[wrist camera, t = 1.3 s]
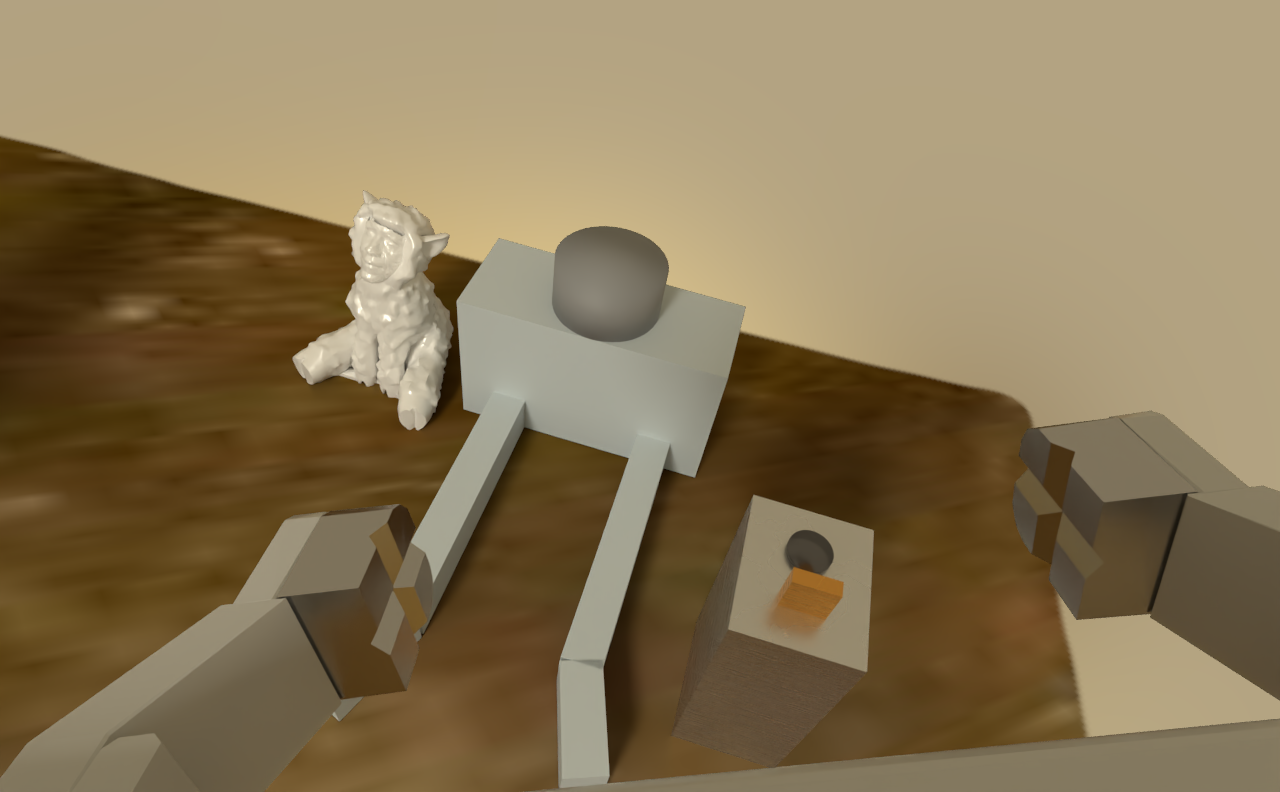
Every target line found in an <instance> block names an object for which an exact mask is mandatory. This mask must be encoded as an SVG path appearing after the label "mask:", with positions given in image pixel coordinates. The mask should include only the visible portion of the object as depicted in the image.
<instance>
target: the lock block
mask: <svg viewBox="0 0 1280 792" xmlns="http://www.w3.org/2000/svg"><path fill="white" fill-rule="evenodd" d="M873 539H874V530H871V529H868V528H864V527H861V526H857V525H854V524H851V523H847V522H844V521H841V520H837V519H834V518H830V517H827V516H824V515H820V514H817V513H813V512H810V511H807V510H803V509H800V508H797V507H793V506H790V505H786V504H783V503H780V502H776V501H773V500H770V499H766V498H763V497H759V496H756V495H753V497H752V499H751V502H750V504H749V506H748V508H747V510H746V513H745V515H744V517H743V519H742V522H741V524H740V526H739V528H738V530H737V533H736V535H735V537H734V539H733V542H732V544H731V546H730V548H729V550H728V553H727V555H726V557H725V559H724V562H723V564H722V566H721V568H720V570H719V573H718V575H717V577H716V579H715V582H714V584H713V586H712V588H711V590H710V593H709V595H708V597H707V599H706V602H705V604H704V606H703V608H702V610H701V613H700V615H699V617H698V619H697V622H696V627H695V631H694V636H693V640H692V645H691V649H690V654H689V658H688V663H687V667H686V672H685V676H684V681H683V685H682V690H681V694H680V699H679V703H678V708H677V712H676V717H675V721H674V726H673V731H672V735H671V736H674V737H677V738H680V739H683V740H686V741H689V742H692V743H695V744H699V745H702V746H705V747H708V748H711V749H714V750H717V751H720V752H723V753H727V754H730V755H733V756H736V757H739V758H742V759H745V760H748V761H751V762H754V763H758V764H761V765H764V766H767V767H770V768H775V767H776V766H777V765H778V764H779V763H780V762H781V761H782V760H783V759H784V758H785V757H786V756H787V754H788V753H789V752H790V751H791V750H792V749H793V748H794V747H795V746H796V745H797V744H798V743H799V742H800V741H801V740H802V739H803V738H804V737H805V736H806V735H807V734H808V733H809V732H810V731H811V730H812V729H813V728H814V727H815V725H816V724H817V723H818V722H819V721H820V720H821V719H822V718H823V717H824V716H825V715H826V714H827V713H828V712H829V711H830V710H831V709H832V708H833V707H834V706H835V705H836V704H837V703H838V702H839V701H840V700H841V699H842V698H843V697H844V695H845V694H846V693H847V692H848V691H849V690H850V689H851V688H852V687H853V686H854V685H855V684H856V683H857V682H858V681H859V680H860V679H861V678H862V677H863V676H864V675H865V674H866V673H867V661H868V640H869V620H870V600H871V579H872V559H873Z"/></svg>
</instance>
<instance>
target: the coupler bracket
mask: <svg viewBox="0 0 1280 792" xmlns="http://www.w3.org/2000/svg"><path fill="white" fill-rule="evenodd" d="M668 269H669V267H668V261H667V258H666V257H665V254H664V253H663V252H662V250H661V249H660V248H659V247H658V246H657V245H656V244H655V243H654V242H652V241H651V240H650V239H648V238H646V237H645V236H643V235H641V234H638V233H636V232H633V231H630V230H627V229H622V228H617V227H607V226H606V227H605V226H599V227H590V228H585V229H582V230H579V231H576V232H574V233H572V234H570V235H568V236H567V237H566V238H564V239H563V240H562V241H561V242H560V244H559V245H558V247H557V249H556V252H555V254H554V253H551V252H547V251H543V250H540V249H536V248H532V247H529V246H525V245H522V244H518V243H514V242H511V241H507V240H504V239H500V238H499V239H498V241H497V242H496V244H495V245H494V246H493V248H492V249H491V251H490V253H489V254H488V255H487V257H486V258H485V260H484V261H483V263H482V264H481V266H480V267H479V269H478V270H477V272H476V273H475V275H474V276H473V278H472V279H471V280H470V282H469V283H468V285H467V286H466V288H465V289H464V291H463V292H462V294H461V295H460V297H459V298H458V300H457V316H458V331H459V346H460V362H461V377H462V392H463V407H464V410H468V411H471V412H475V413H478V414H481V415H480V417H479V419H478V421H477V422H476V424H475V426H474V428H473V430H472V431H471V433H470V435H469V437H468V439H467V441H466V442H465V444H464V446H463V448H462V450H461V451H460V453H459V455H458V457H457V459H456V461H455V462H454V464H453V466H452V468H451V470H450V471H449V473H448V475H447V477H446V479H445V481H444V482H443V484H442V486H441V488H440V490H439V492H438V493H437V495H436V497H435V499H434V501H433V502H432V504H431V506H430V508H429V510H428V512H427V513H426V515H425V517H424V519H423V521H422V522H421V524H420V526H419V528H418V530H417V532H416V533H415V535H414V537H413V539H412V541H411V543H413V544H414V545H415V546H417V547H418V548H420V549H421V550H422V551H424V552H425V553H426V556H427V559H428V561H429V564H430V567H431V573H432V578H433V602H432V607H431V611H430V615H429V618H428V621H427V622H426V623H425V624H424V625H423V626H422V627H421V628H420V629H419V630H418V631H417V632H416V633H415V634H414V636H415V639H416V641H417V642H418V641H419V640H420V639H421V638H422V637H421V633H422V634H424V632H425V630H426V628H427V626H428V624H429V622H430V619H431V617H432V615H433V613H434V611H435V609H436V607H437V605H438V603H439V601H440V599H441V597H442V595H443V593H444V591H445V589H446V587H447V585H448V583H449V581H450V578H451V576H452V574H453V572H454V570H455V568H456V566H457V564H458V562H459V560H460V558H461V556H462V554H463V552H464V550H465V548H466V546H467V544H468V542H469V539H470V537H471V535H472V533H473V531H474V529H475V527H476V525H477V523H478V521H479V519H480V517H481V515H482V513H483V511H484V509H485V507H486V505H487V503H488V501H489V498H490V496H491V494H492V492H493V490H494V488H495V486H496V484H497V482H498V480H499V478H500V476H501V474H502V472H503V470H504V468H505V466H506V464H507V462H508V459H509V457H510V455H511V453H512V451H513V449H514V447H515V445H516V443H517V441H518V439H519V437H520V435H521V433H522V431H523V429H524V427H525V428H529V429H532V430H535V431H539V432H542V433H546V434H549V435H552V436H556V437H559V438H563V439H566V440H569V441H573V442H576V443H579V444H583V445H586V446H590V447H593V448H596V449H600V450H603V451H606V452H610V453H613V454H617V455H620V456H623V457H627V458H629V460H628V463H627V466H626V469H625V472H624V475H623V478H622V481H621V483H620V486H619V489H618V492H617V495H616V498H615V501H614V504H613V507H612V510H611V512H610V515H609V518H608V521H607V524H606V527H605V530H604V533H603V536H602V539H601V541H600V544H599V547H598V550H597V553H596V556H595V559H594V562H593V565H592V568H591V571H590V573H589V576H588V579H587V582H586V585H585V588H584V591H583V594H582V597H581V600H580V602H579V605H578V608H577V611H576V614H575V617H574V620H573V623H572V626H571V629H570V631H569V634H568V637H567V640H566V643H565V646H564V649H563V652H562V655H561V659H560V661H559V668H558V675H557V722H558V778H559V788H568V787H578V786H589V785H599V784H607V781H608V779H609V776H610V774H609V757H608V740H607V724H606V707H605V690H604V673H603V668H604V664H605V661H606V658H607V654H608V651H609V648H610V644H611V641H612V638H613V634H614V631H615V628H616V624H617V621H618V618H619V614H620V611H621V608H622V604H623V601H624V598H625V594H626V591H627V588H628V584H629V581H630V578H631V574H632V571H633V568H634V565H635V561H636V558H637V555H638V551H639V548H640V545H641V541H642V538H643V535H644V531H645V528H646V525H647V521H648V518H649V515H650V511H651V508H652V505H653V501H654V498H655V495H656V491H657V488H658V485H659V481H660V478H661V475H662V471H663V468H664V469H667V470H671V471H674V472H677V473H681V474H684V475H688V476H691V477H694V478H695V476H696V473H697V470H698V467H699V464H700V461H701V458H702V455H703V452H704V449H705V446H706V443H707V440H708V437H709V434H710V431H711V428H712V425H713V422H714V419H715V416H716V413H717V410H718V407H719V404H720V401H721V398H722V395H723V392H724V389H725V386H726V383H727V379H728V376H729V372H730V368H731V364H732V360H733V356H734V352H735V348H736V344H737V340H738V336H739V332H740V328H741V324H742V320H743V316H744V312H745V308H746V307H745V306H741V305H738V304H734V303H731V302H727V301H723V300H720V299H716V298H713V297H709V296H705V295H702V294H698V293H695V292H691V291H687V290H684V289H680V288H676V287H673V286H669V285H666V281H667V276H668V271H669V270H668ZM362 698H363V697H357V698H350V699H342V700H341V701H342V704H341V705H340V706H339V707H338V708H337V710H336V711H335V712H334V713H333V714H332V715H333V716H334V717H335V718H336V719H337V720H338V721H339V722H340V721H341V720H342V719H343V718H344V717H345V716H346V715H347V714H348V713H349V711H350V710H351V709H352V708H353V707H354V706H355V705H356V704H357V703H358V702H359V701H360V700H361V699H362Z"/></svg>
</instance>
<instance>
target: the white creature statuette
mask: <svg viewBox="0 0 1280 792" xmlns="http://www.w3.org/2000/svg"><path fill="white" fill-rule="evenodd" d="M363 197H364V202H365V203H364V204H363V205H362V207H361V208H360V210H359V211H358V213H357V215H356V216H355V217H354V223H355V225H354V226H353V227H352V228H351V229H350V231H349V236H350V237H351V239H352V248H353V252H352V255H353V256H354V258H355V261H356V263H357V264H358V265H359V266H360V267H361V270H359V271H357V272H356V275H355V278H356V282H355V283H354V284H353V285H352V289H351V291H350V292H349V294H348V297H347V299H346V301H345V302H346V304H347V305H348V307H349V308H350V310H351V312H352V314H353V316H354V317H355V318H356V319H355V320H354V321H352V322H351V323H350V324H348V325H347V326H346V327H342V328H340V329H338V330H337V331H334V332H331V333H328V334H323V335H321V336H320V337H318V339H317V340H316V341H314V342H311V343H309V345H308V347H307V348H305V349H303V350H301V351H300V352H299V353H297V354H296V355H295V356H293V361H294V364H295V366H296V368H297V370H298V371H299V373H300V374H301V376H302V377H303V378H306V380H307V382H308V383H310V384H315V383H317V382H319V383H320V382H322V381H324V380H326V379H328V378H330V377H333V376H337V375H339V376H342V377H346V378H349V379H352V380H356V381H358V382H359V383H362V381H363V382H364V383H365V384H366V386H373V385H374V384H375V383H378V384H380V389H381V391H382V392H383V394H384V393H385V392H387V395H388V397H396V398H398V399H399V403H398V415H399V420H400V422H401V424H402V425H403V426H405V427H406V428H407V429H410V430H411V429H413V428H414V427H416V430H420V429H421V428H423V427H424V426H425V425H426V424H427V423H428V421H429V420H430V419H431V417H432V414H433V413H435V412H436V407H437V402H438V400H439V398H440V396H441V395H440V389H442V386H441V384H442V382H443V374H444V373H445V371H444V368H445V366H446V358H447V357H448V349H450V348H451V346H452V345H451V343H450V339H451V337H452V332H453V329H454V328H453V326H452V324H451V321H450V311H449V310H447V309H446V308H445V307H444V306H443V305H442V303H441V301H440V299H439V298H438V297H436V295H435V294H434V291H433V290H434V284H433V283H432V282H430V281H429V280H428V279H427V277H426V276H425V275H424V273H423V272H422V271H426V270H427V267H428V264H429V262H430V260H431V258H432V257H434V256H436V255H437V254H439V253H440V252H441V251H442V250H443V249H444V248H445V247H446V246H447V243H448V239H449V234H447V233H440V234H436V235H435V233H434V230H433V228H432V226H431V224H430V221H429V219H428V218H427V217H426V216H424V215H423V214H421V213H420V212H419V211H418V210H417V209H416V208H414V207H413V206H408V207H406V206H404V205H402V204H401V203H400V202H399V201H397V200H396V201H394V202H392V201H391V200H389V199H386V198H380V199H379V200H378V199H376V198H375V197H374V196H373V195H372V194H370V193H368V192H367V191H364V190H363ZM352 367H353V368H352Z"/></svg>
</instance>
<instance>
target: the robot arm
mask: <svg viewBox="0 0 1280 792" xmlns="http://www.w3.org/2000/svg"><path fill="white" fill-rule="evenodd" d="M1019 456H1020V458H1021V459H1022V460H1023V461H1024V463H1025V464H1026V465H1027V467H1028V470H1027V471H1026V472H1025V473H1024V474H1023V475H1022V476H1021V477H1020V478H1019V479H1018V480H1017V481H1016V482H1015V486H1014V495H1013V510H1014V516H1015V522H1016V526H1017V528H1018V531H1019V533H1020V536H1021V538H1022V540H1023V542H1024V543H1025V545H1026V546H1027V548H1028V549H1029V551H1030V552H1031V554H1033V555H1035V556H1036V557H1038V558H1040V559H1042V560H1044V561H1046V562H1048V563H1050V564H1051V570H1050V575H1049V581H1050V582H1051V583H1052V585H1053V586H1054V588H1055V589H1056V591H1057V592H1058V594H1059V595H1060V597H1061V598H1062V599H1063V601H1064V602H1065V604H1066V605H1067V607H1068V608H1069V610H1070V611H1071V612H1072V614H1073V615H1074V617H1075V618H1076V620H1081V619H1093V618H1106V617H1117V616H1131V615H1142V614H1151V616H1150V617H1151V618H1152V619H1154V620H1155V621H1157V622H1158V623H1160V624H1162V625H1163V626H1165V627H1166V628H1168V629H1169V630H1171V631H1172V632H1174V633H1175V634H1177V635H1179V636H1180V637H1182V638H1183V639H1185V640H1187V641H1188V642H1189V643H1191V644H1193V645H1194V646H1196V647H1197V648H1199V649H1200V650H1202V651H1203V652H1205V653H1207V654H1208V655H1210V656H1211V657H1213V658H1214V659H1216V660H1218V661H1219V662H1221V663H1222V664H1224V665H1225V666H1227V667H1228V668H1230V669H1231V670H1233V671H1235V672H1236V673H1238V674H1239V675H1241V676H1242V677H1244V678H1245V679H1247V680H1249V681H1250V682H1252V683H1253V684H1255V685H1257V686H1258V687H1260V688H1261V689H1263V690H1264V691H1266V692H1267V693H1269V694H1271V695H1272V696H1274V697H1275V698H1277V699H1278V700H1280V492H1279V491H1277V490H1274V489H1271V488H1268V487H1265V486H1256V487H1248V486H1247V485H1246V484H1245V483H1243V482H1242V481H1241V480H1240V479H1239V478H1237V477H1236V476H1235V475H1234V474H1233V473H1232V472H1230V471H1229V470H1228V469H1227V468H1226V467H1225V466H1223V465H1222V464H1221V463H1220V462H1219V461H1217V460H1216V459H1215V458H1214V457H1213V456H1212V455H1210V454H1209V453H1208V452H1207V451H1206V450H1204V449H1203V448H1202V447H1201V446H1200V445H1198V444H1197V443H1196V442H1195V441H1194V440H1192V439H1191V438H1190V437H1189V436H1188V435H1186V434H1185V433H1184V432H1183V431H1182V430H1181V429H1179V428H1178V427H1177V426H1176V425H1175V424H1173V423H1172V422H1171V421H1170V420H1169V419H1168V418H1166V417H1165V416H1164V415H1162V414H1160V413H1156V412H1153V411H1147V412H1140V413H1133V414H1126V415H1120V416H1113V417H1109V418H1108V419H1100V420H1092V421H1084V422H1077V423H1070V424H1061V425H1053V426H1045V427H1037V428H1029V429H1027V430H1026V432H1025V434H1024V436H1023V438H1022V440H1021V446H1020V452H1019ZM415 528H416V527H415V525H414V523H413V520H412V518H411V516H410V513H409V511H408V509H407V508H405V507H403V506H402V505H400V504H398V505H388V506H377V507H367V508H357V509H347V510H337V511H330V512H320V513H311V514H303V515H294V516H292V517H290V518H288V519H286V520H285V521H284V522H283V524H282V525H281V527H280V529H279V530H278V532H277V534H276V535H275V537H274V538H273V540H272V542H271V543H270V545H269V546H268V548H267V550H266V551H265V553H264V555H263V556H262V558H261V559H260V561H259V563H258V564H257V566H256V568H255V569H254V571H253V572H252V574H251V576H250V577H249V579H248V580H247V582H246V584H245V585H244V587H243V589H242V590H241V592H240V593H239V595H238V597H237V598H236V600H235V601H234V603H233V604H229V605H221V606H220V607H218V608H217V609H215V610H214V611H213V612H211V613H210V614H208V615H207V616H206V617H204V618H203V619H201V620H200V621H199V622H197V623H196V624H194V625H193V626H192V627H190V628H189V629H187V630H186V631H185V632H183V633H182V634H180V635H179V636H178V637H176V638H175V639H173V640H172V641H170V642H169V643H168V644H166V645H165V646H163V647H162V648H161V649H159V650H158V651H156V652H155V653H154V654H152V655H151V656H149V657H148V658H147V659H145V660H144V661H142V662H141V663H140V664H138V665H137V666H135V667H134V668H133V669H131V670H130V671H128V672H127V673H125V674H124V675H123V676H121V677H120V678H118V679H117V680H116V681H114V682H113V683H111V684H110V685H109V686H107V687H106V688H104V689H103V690H102V691H100V692H99V693H97V694H96V695H95V696H93V697H92V698H90V699H89V700H87V701H86V702H85V703H83V704H82V705H80V706H79V707H78V708H76V709H75V710H73V711H72V712H71V713H69V714H68V715H66V716H65V717H64V718H62V719H61V720H59V721H58V722H57V723H55V724H54V725H52V726H51V727H50V728H48V729H47V730H45V731H44V732H42V733H41V734H40V735H38V736H37V737H35V738H34V739H33V740H31V741H30V742H28V743H27V744H26V746H25V747H24V748H23V749H22V751H21V752H20V753H19V755H18V756H17V757H16V759H15V760H14V761H13V762H12V764H11V765H10V766H9V768H8V769H7V770H6V772H5V773H4V774H3V775H2V777H1V778H0V792H264V791H265V790H266V789H267V788H268V786H269V785H270V784H271V783H272V782H273V781H274V780H275V779H276V777H277V776H278V775H279V774H280V773H281V772H282V771H283V769H284V768H285V767H286V766H287V765H288V764H289V763H290V762H291V760H292V759H293V758H294V757H295V756H296V755H297V754H298V753H299V751H300V750H301V749H302V748H303V747H304V746H305V745H306V743H307V742H308V741H309V740H310V739H311V738H312V737H313V736H314V734H315V733H316V732H317V731H318V730H319V729H320V728H321V726H322V725H323V724H324V723H325V722H326V721H327V720H328V719H329V717H330V716H331V715H332V714H333V713H334V712H335V711H336V710H337V708H338V707H339V706H340V705H341V704H342V701H341V700H342V699H350V698H357V697H365V696H372V695H379V694H387V693H394V692H402V691H406V690H407V687H408V684H409V681H410V677H411V674H412V671H413V668H414V665H415V661H416V658H417V655H418V652H419V646H418V644H417V641H416V639H415V636H414V634H415V633H416V632H417V631H418V630H419V629H420V628H421V627H422V626H423V625H424V624H425V623H426V622H427V621H428V618H429V615H430V611H431V607H432V602H433V578H432V573H431V567H430V564H429V561H428V559H427V556H426V553H425V552H424V551H422V550H421V549H420V548H418V547H417V546H415V545H414V544H413V543H411V539H412V536H413V533H414V531H415ZM527 792H1280V719H1271V720H1261V721H1251V722H1240V723H1230V724H1220V725H1210V726H1199V727H1188V728H1178V729H1168V730H1157V731H1147V732H1137V733H1126V734H1116V735H1106V736H1097V737H1096V736H1095V737H1085V738H1074V739H1064V740H1054V741H1043V742H1033V743H1023V744H1012V745H1002V746H992V747H981V748H971V749H961V750H950V751H940V752H930V753H919V754H909V755H899V756H888V757H878V758H867V759H857V760H847V761H836V762H826V763H816V764H805V765H795V766H785V767H775V768H764V769H754V770H744V771H733V772H723V773H713V774H702V775H692V776H682V777H671V778H661V779H651V780H640V781H630V782H620V783H609V784H599V785H589V786H578V787H568V788H558V789H547V790H537V791H527Z"/></svg>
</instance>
